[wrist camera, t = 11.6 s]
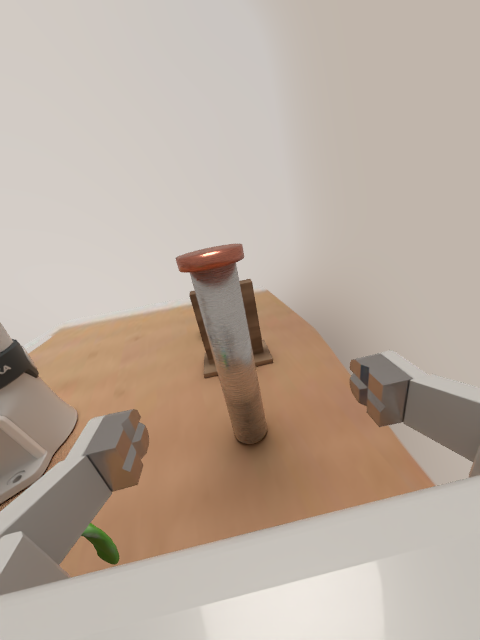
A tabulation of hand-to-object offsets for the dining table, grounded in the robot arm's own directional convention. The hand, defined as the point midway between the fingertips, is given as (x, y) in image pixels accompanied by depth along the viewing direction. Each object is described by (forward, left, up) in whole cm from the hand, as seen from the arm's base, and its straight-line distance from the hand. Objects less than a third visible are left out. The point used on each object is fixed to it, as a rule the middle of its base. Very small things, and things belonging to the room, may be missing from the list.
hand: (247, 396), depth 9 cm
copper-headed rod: (+12, +13, -17) cm, 25 cm away
